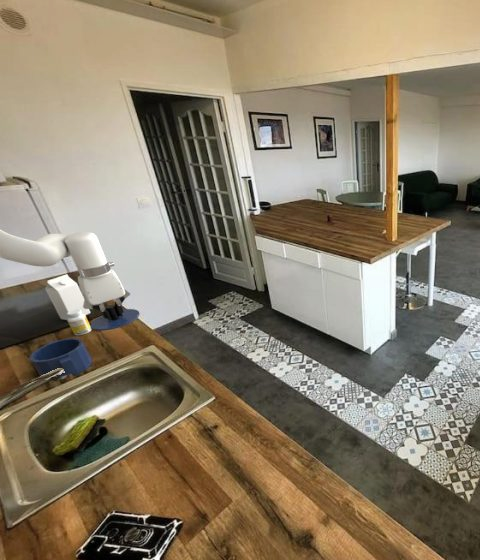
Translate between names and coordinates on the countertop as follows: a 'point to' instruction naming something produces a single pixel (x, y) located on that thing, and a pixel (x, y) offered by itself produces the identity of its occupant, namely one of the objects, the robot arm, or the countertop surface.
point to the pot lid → (114, 319)
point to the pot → (62, 357)
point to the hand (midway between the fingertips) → (114, 316)
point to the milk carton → (65, 296)
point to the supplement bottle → (78, 322)
